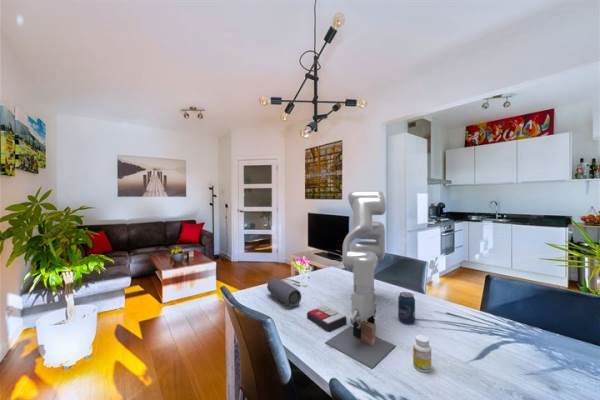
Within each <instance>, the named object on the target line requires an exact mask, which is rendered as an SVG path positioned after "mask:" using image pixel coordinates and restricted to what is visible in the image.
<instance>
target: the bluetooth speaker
mask: <svg viewBox="0 0 600 400" xmlns="http://www.w3.org/2000/svg"><path fill="white" fill-rule="evenodd" d="M266 288H267V290H268V292H269V293H270V294H272V295H273V297H275V298H277V300H278V301H279V302H281V303H282V304H284V305H287V306H290V307H295V306H298V305H299V304H300V302H301V300H302V293H301V292H300V291H299V290H298V289H297V288H296V287H294V286H293V285H292V284H289V283H288V282H286V281H284V280H281V279H279V278H277V277H272V278H270V280H269V281H268V282H267V284H266Z"/></svg>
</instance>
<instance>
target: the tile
mask: <svg viewBox="0 0 600 400" xmlns="http://www.w3.org/2000/svg"><path fill="white" fill-rule="evenodd" d="M357 318H358V319H360V318H359V317H357ZM356 323H357V324H358V323H359V321H358V320H357V321H356ZM376 326H377V325H376V323H375V324H372V323H369V322H367V320H365V321H363V322H362V323H361V326H360V328H361V339H359V338H357V337H355V336H354V338H357V339H359V340H361V341H363V342H365V343H367V344H369V345H372V346H373V345H374V344H375V343H376V337H377V336H376V332H377V331H376V330H377V329H376Z"/></svg>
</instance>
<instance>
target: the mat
mask: <svg viewBox="0 0 600 400" xmlns="http://www.w3.org/2000/svg"><path fill="white" fill-rule="evenodd" d="M325 344H326V345H327V346H329V347H331V348H333V349H335V350H337V351H339V352H340V353H343V354H344V355H346V356H348V357H350V358H351V359H353V360H355V361H357V362H358V363H360V364H362V365H364V366H366V367H368V368H370V369H372V370H373V369H374V368H376V366H377V365H379V363H380V362H381V361H383V359H384V358H386V357H387V356H388V354H390V353H391V352H392V351H393V350H394V349H395V348H396V347H397V345H395V344H393V343H391V342H389V341H387V340H384V339H382V338H380V337H377V336H376V343H375V344H374V345H373V346H372V345H369V344H367V343H365V342H363V341H361V340H359V339H357V338H354V336H353V326H352V325H349V326H348V327H346V328H345V329H343V330H342V331H340V332H339V333H337V334H335V335H334V336H332V337H331V338H329V339H327V340H326V341H325Z"/></svg>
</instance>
